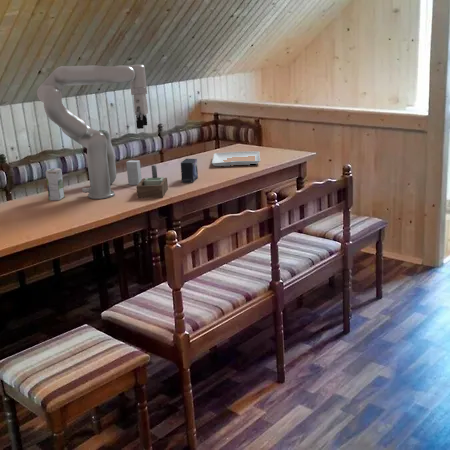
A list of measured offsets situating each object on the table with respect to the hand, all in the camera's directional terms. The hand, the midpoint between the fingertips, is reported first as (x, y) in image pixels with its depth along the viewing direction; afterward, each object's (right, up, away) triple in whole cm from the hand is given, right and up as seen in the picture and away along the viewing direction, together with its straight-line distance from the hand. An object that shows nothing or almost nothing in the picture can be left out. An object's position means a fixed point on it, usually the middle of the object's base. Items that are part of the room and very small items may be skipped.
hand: (142, 126), depth 305 cm
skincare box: (-6, -27, +17) cm, 33 cm away
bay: (+6, -33, -4) cm, 33 cm away
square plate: (+47, -12, +56) cm, 74 cm away
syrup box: (-40, -35, -4) cm, 54 cm away
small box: (+22, -25, +19) cm, 38 cm away
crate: (+6, -30, +1) cm, 31 cm away
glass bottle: (-21, -27, +21) cm, 39 cm away
